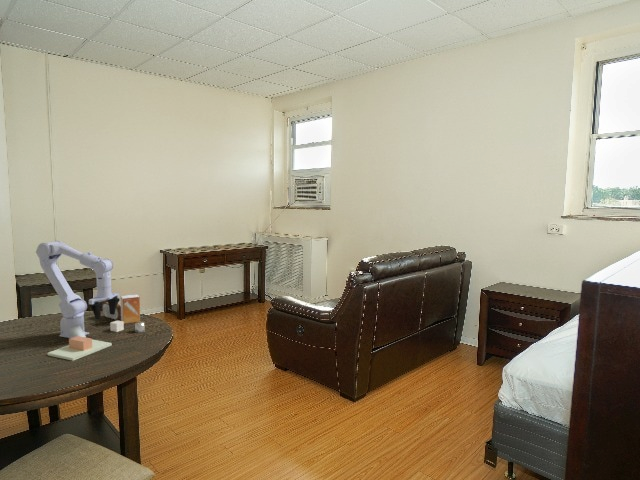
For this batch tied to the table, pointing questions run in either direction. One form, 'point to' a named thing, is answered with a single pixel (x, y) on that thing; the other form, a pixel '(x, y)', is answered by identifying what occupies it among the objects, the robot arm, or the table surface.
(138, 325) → the light grey cylinder
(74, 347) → the terracotta brick
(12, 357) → the table surface
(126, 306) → the small box
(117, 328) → the off-white cube
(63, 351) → the board
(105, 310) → the tin
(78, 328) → the grey-blue slab
